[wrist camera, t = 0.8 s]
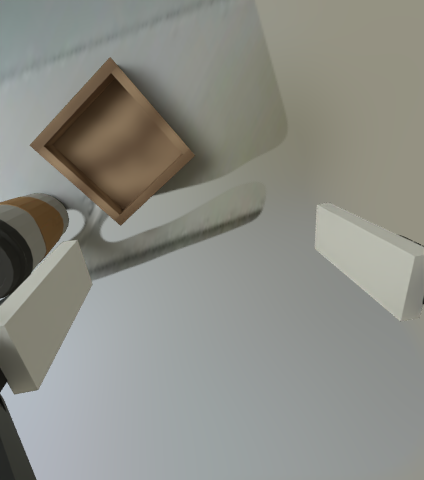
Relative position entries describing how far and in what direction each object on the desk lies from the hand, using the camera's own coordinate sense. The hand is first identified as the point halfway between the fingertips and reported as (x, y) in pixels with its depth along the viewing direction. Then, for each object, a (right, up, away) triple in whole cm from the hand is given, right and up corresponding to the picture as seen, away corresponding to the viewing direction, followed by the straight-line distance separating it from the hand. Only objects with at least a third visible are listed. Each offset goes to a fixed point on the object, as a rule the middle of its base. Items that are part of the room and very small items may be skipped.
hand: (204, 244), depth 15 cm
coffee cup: (-22, +4, +21) cm, 31 cm away
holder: (-11, +12, +19) cm, 25 cm away
